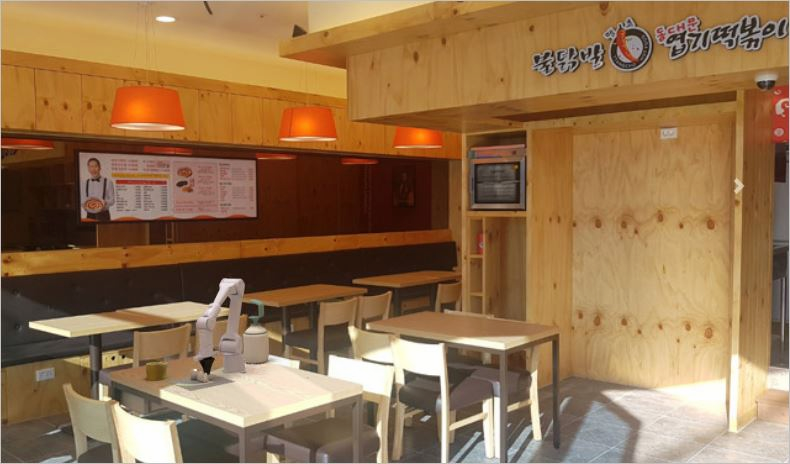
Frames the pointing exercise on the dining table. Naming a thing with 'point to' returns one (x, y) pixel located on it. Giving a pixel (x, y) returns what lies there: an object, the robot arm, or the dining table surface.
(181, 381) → the tuner board
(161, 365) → the mug
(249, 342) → the soap bottle
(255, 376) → the dining table surface
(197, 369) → the tuning dial
